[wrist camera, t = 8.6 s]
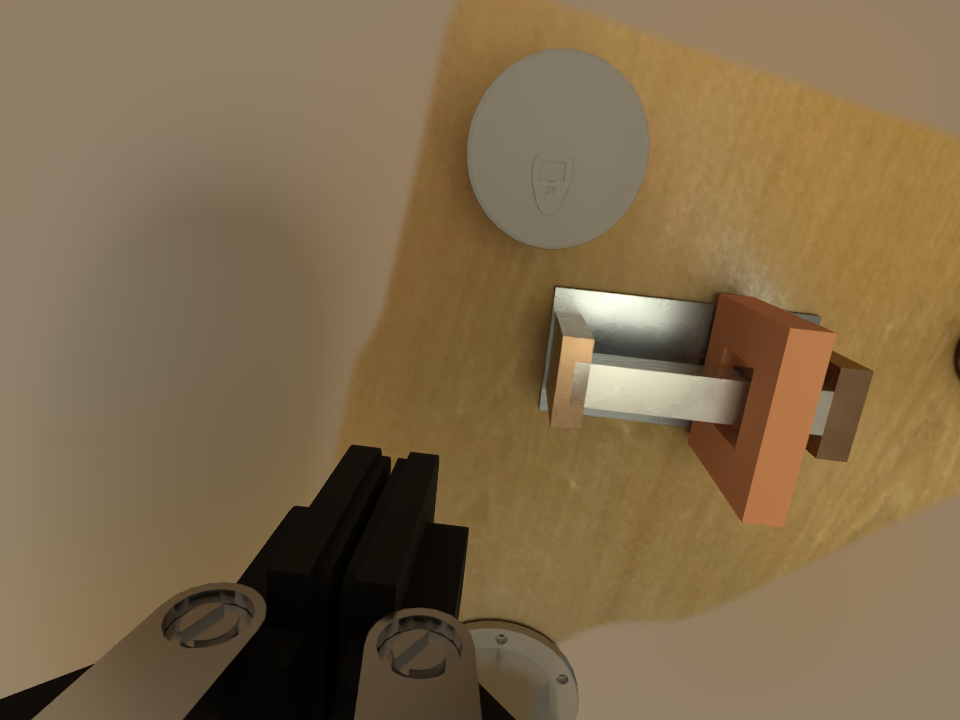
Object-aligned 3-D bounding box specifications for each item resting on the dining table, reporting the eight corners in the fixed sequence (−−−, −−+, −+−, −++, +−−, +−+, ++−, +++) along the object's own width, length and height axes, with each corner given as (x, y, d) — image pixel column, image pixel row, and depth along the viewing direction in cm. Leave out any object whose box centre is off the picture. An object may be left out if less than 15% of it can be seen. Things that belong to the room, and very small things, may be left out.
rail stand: (538, 406, 39) (543, 453, 32) (555, 285, 37) (563, 307, 30) (785, 435, 39) (844, 489, 31) (816, 314, 36) (888, 343, 29)
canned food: (493, 244, 37) (482, 264, 26) (470, 106, 35) (447, 67, 24) (619, 222, 36) (660, 233, 25) (602, 79, 34) (640, 26, 23)
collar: (687, 442, 38) (742, 522, 29) (719, 293, 35) (790, 328, 26) (719, 446, 38) (784, 527, 29) (753, 297, 35) (836, 333, 26)
